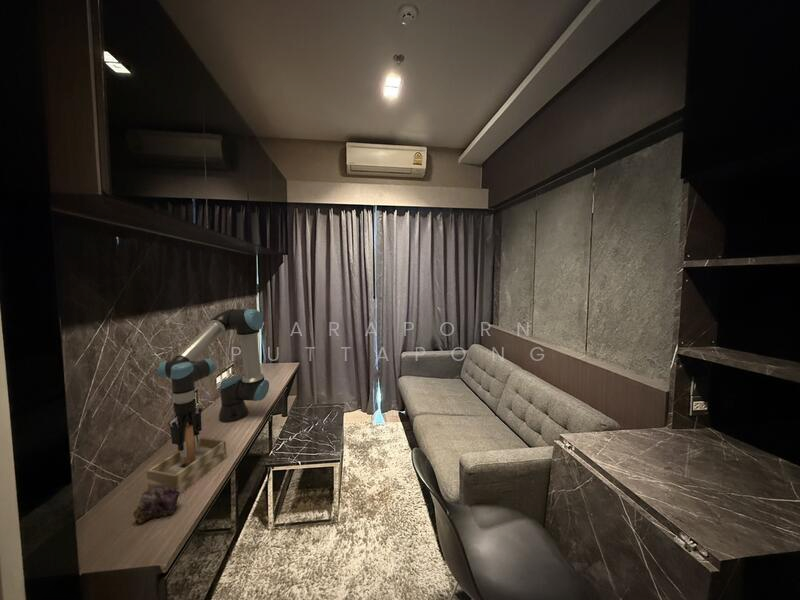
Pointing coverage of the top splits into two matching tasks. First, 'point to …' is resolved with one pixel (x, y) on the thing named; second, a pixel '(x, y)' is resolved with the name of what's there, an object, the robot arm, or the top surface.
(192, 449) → the peg
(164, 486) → the rock
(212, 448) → the box
